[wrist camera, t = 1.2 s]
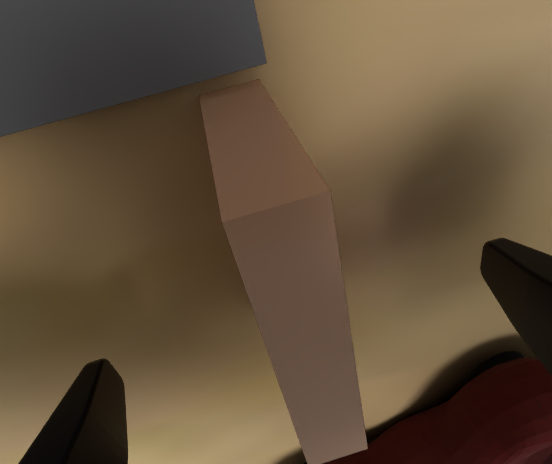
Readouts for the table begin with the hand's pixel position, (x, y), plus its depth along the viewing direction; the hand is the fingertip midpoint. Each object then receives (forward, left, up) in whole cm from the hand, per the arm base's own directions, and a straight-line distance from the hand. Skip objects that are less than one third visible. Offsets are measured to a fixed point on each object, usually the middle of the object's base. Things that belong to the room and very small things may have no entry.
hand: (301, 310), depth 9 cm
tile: (0, 0, -4) cm, 4 cm away
